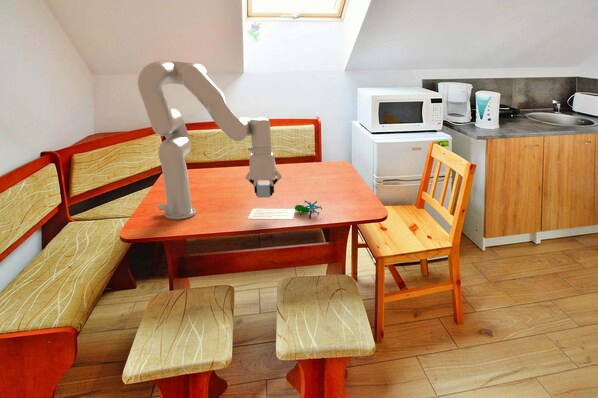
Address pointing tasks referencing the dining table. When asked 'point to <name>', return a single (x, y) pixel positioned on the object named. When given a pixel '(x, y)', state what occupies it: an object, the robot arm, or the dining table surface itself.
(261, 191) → the cube
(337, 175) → the dining table surface
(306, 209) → the stick construction toy
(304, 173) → the dining table surface
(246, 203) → the dining table surface
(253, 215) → the letter
